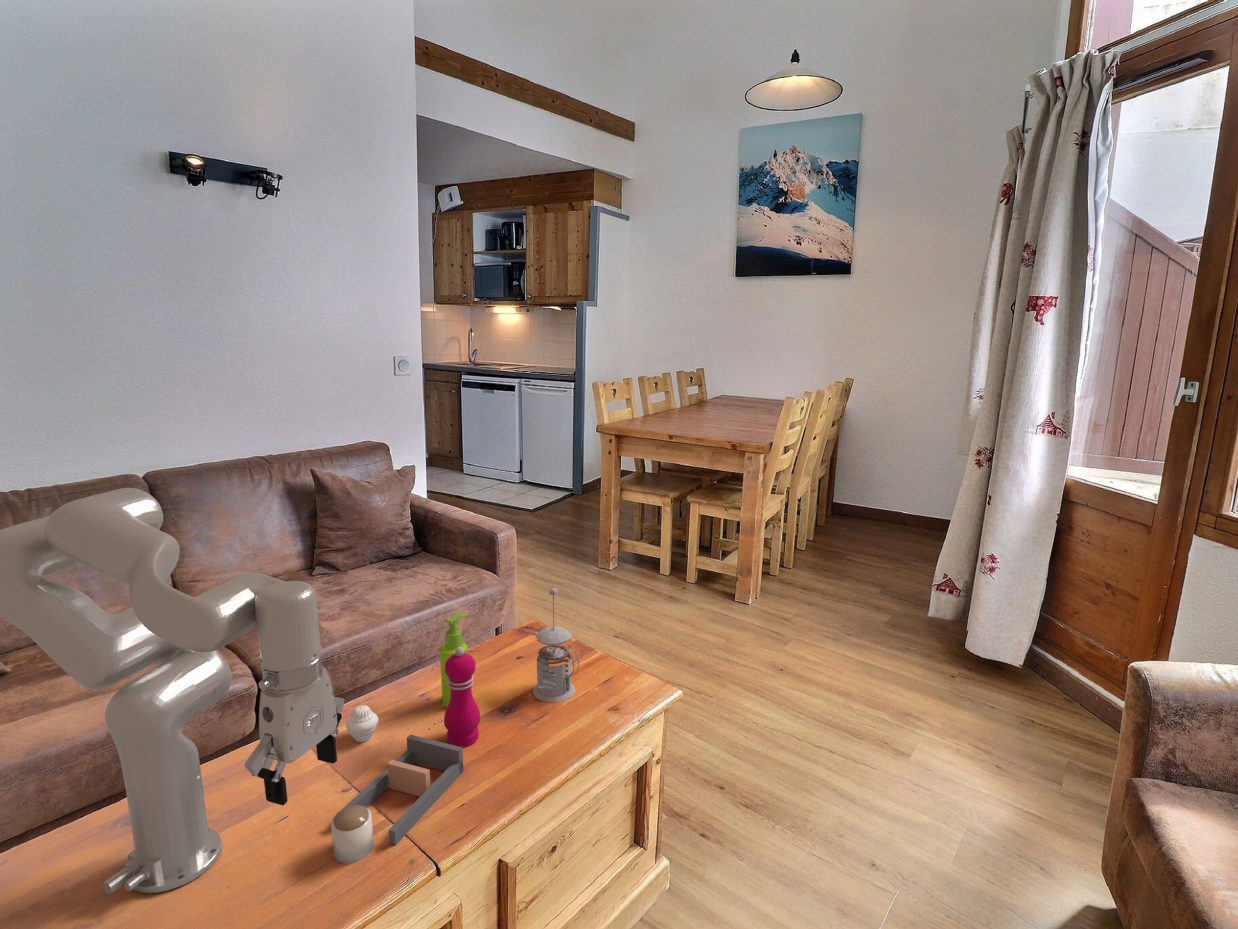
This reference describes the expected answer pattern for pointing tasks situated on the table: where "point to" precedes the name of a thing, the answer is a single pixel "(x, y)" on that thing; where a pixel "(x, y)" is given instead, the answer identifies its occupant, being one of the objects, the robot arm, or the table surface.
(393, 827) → the frame
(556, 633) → the french press
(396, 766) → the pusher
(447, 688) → the soap dispenser
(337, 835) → the jar
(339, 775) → the table surface
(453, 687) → the pepper mill
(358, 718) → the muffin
